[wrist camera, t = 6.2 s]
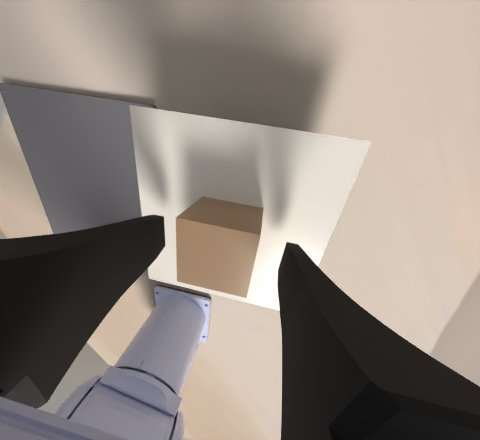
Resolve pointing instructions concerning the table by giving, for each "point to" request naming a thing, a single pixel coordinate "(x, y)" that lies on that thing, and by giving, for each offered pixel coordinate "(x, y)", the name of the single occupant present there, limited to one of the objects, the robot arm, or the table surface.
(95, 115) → the mat
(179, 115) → the lid
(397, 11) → the table surface
